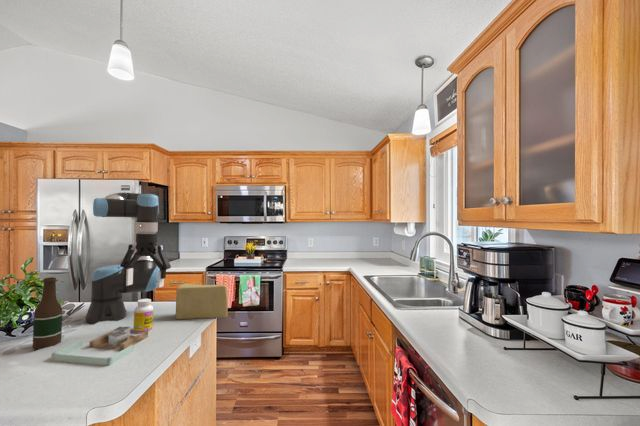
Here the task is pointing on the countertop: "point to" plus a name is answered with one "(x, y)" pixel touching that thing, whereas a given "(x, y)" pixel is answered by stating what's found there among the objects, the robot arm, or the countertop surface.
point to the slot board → (103, 344)
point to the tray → (64, 356)
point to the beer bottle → (47, 318)
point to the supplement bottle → (143, 316)
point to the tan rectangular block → (201, 301)
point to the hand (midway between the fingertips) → (144, 285)
